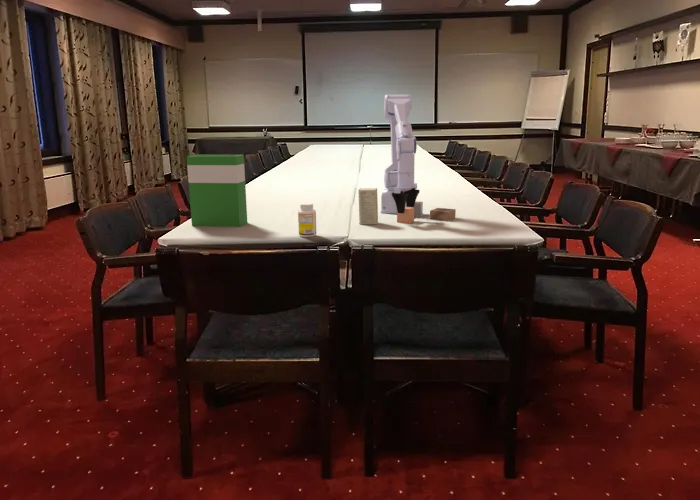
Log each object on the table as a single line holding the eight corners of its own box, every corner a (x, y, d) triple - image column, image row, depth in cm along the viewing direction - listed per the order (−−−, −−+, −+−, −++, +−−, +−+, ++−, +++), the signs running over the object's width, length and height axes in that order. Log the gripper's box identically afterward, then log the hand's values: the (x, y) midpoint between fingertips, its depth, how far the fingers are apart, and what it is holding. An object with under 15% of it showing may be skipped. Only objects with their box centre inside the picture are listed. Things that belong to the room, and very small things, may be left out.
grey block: (408, 216, 213) (408, 203, 212) (410, 214, 218) (410, 201, 216) (420, 216, 212) (420, 203, 211) (422, 214, 216) (422, 201, 215)
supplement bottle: (307, 233, 185) (306, 201, 183) (320, 235, 182) (319, 203, 179) (295, 236, 181) (294, 204, 179) (307, 238, 178) (306, 205, 175)
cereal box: (191, 225, 201) (186, 156, 195) (201, 221, 208) (196, 154, 202) (239, 226, 197) (235, 156, 192) (247, 222, 205) (243, 154, 199)
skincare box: (378, 222, 202) (378, 187, 199) (376, 224, 198) (376, 189, 195) (360, 222, 203) (360, 187, 200) (358, 224, 199) (358, 189, 196)
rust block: (396, 222, 202) (397, 208, 201) (402, 220, 206) (402, 206, 205) (408, 223, 200) (408, 209, 199) (414, 221, 204) (414, 207, 203)
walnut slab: (429, 220, 207) (429, 210, 206) (437, 217, 213) (437, 207, 212) (448, 221, 203) (448, 212, 202) (455, 218, 209) (455, 209, 208)
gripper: (407, 175, 191) (407, 215, 194) (425, 171, 203) (424, 209, 206) (388, 174, 194) (388, 213, 198) (406, 170, 207) (406, 208, 210)
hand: (405, 211), depth 202 cm, fingers open, 7 cm apart
